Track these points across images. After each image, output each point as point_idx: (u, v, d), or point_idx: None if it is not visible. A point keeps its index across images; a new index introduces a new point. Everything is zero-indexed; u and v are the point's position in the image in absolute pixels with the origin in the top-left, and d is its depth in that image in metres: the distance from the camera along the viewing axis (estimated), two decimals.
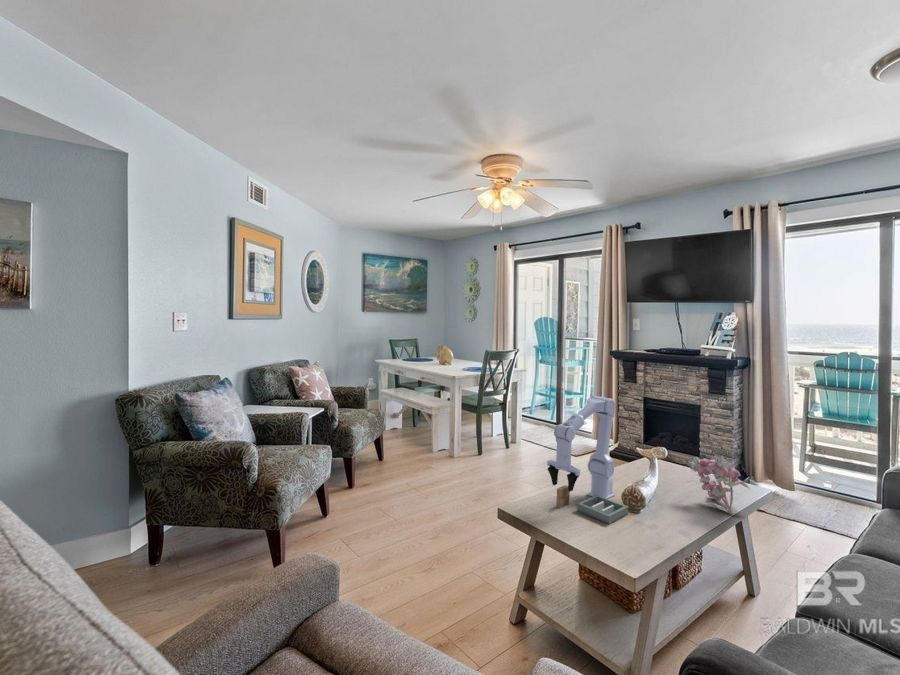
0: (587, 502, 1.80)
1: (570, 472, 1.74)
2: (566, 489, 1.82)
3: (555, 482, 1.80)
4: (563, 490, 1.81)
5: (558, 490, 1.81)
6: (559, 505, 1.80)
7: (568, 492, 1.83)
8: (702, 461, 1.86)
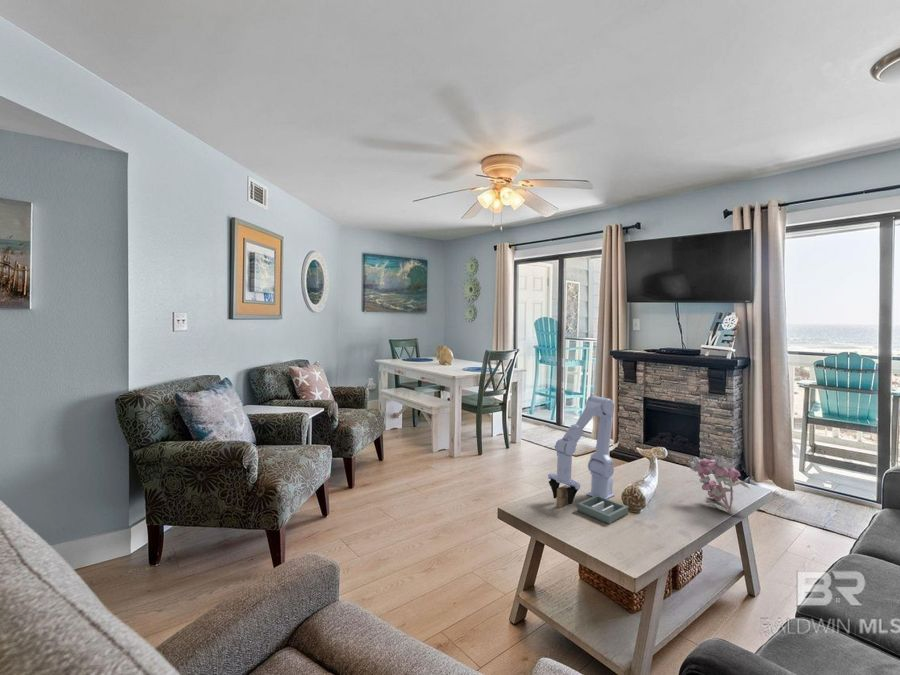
0: (587, 502, 1.80)
1: (570, 486, 1.79)
2: (566, 489, 1.82)
3: (556, 495, 1.85)
4: (563, 490, 1.81)
5: (558, 490, 1.81)
6: (559, 505, 1.80)
7: None
8: (702, 461, 1.86)
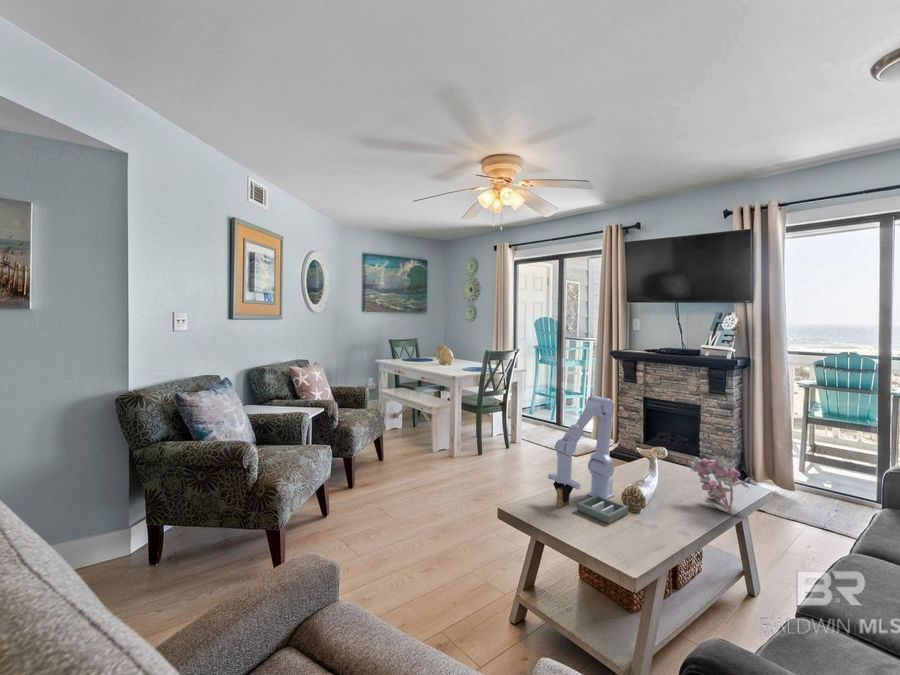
0: (587, 502, 1.80)
1: (565, 484, 1.81)
2: None
3: None
4: None
5: (558, 490, 1.81)
6: (559, 505, 1.80)
7: None
8: (702, 461, 1.86)
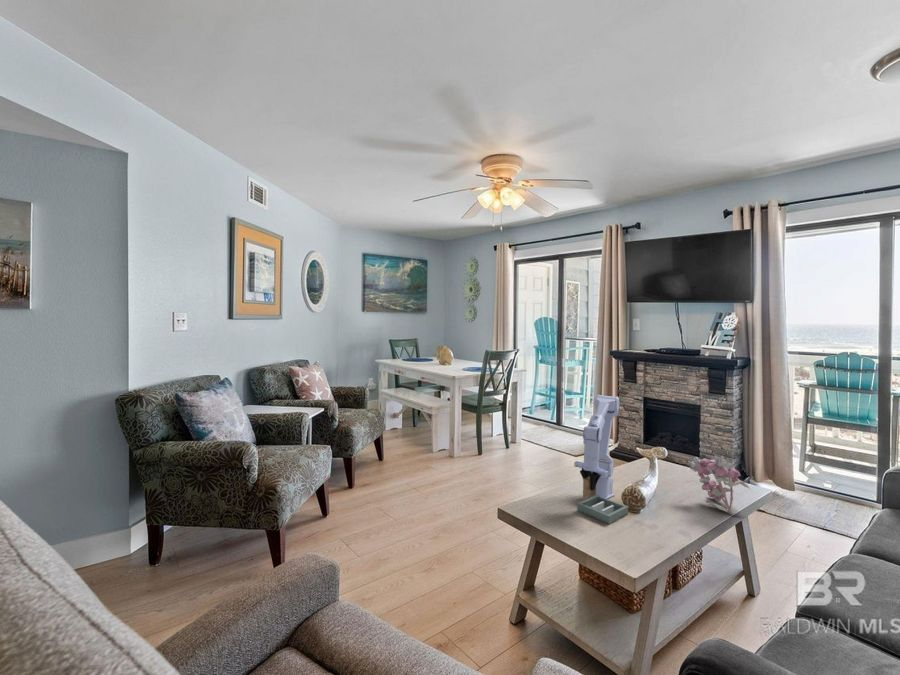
0: (587, 502, 1.80)
1: (592, 471, 1.76)
2: None
3: None
4: (589, 481, 1.76)
5: (584, 480, 1.76)
6: (586, 496, 1.76)
7: None
8: (702, 461, 1.86)
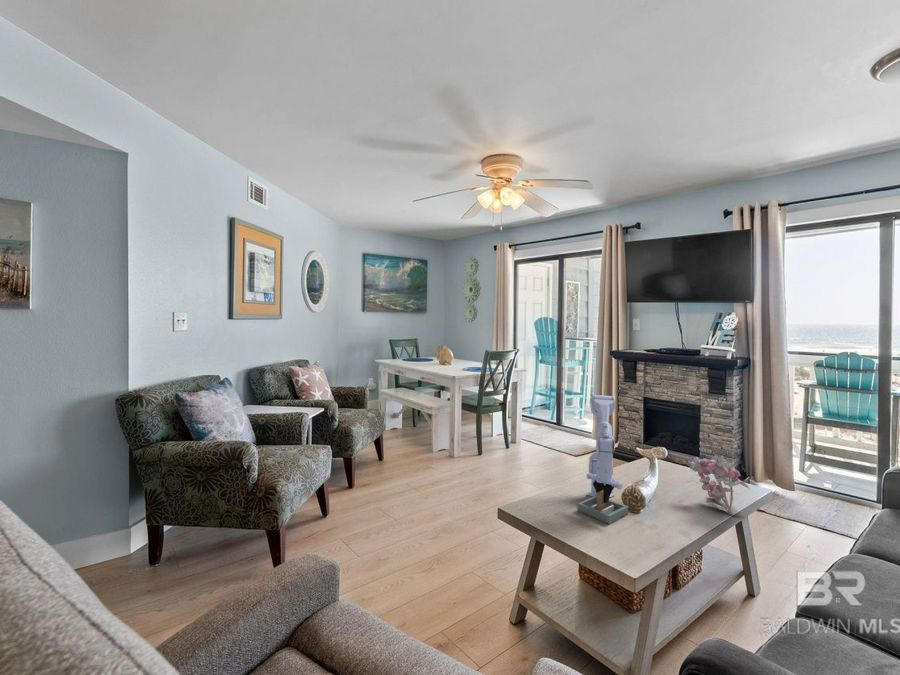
0: (587, 502, 1.80)
1: (606, 484, 1.74)
2: None
3: None
4: (603, 494, 1.74)
5: (598, 494, 1.74)
6: (599, 510, 1.74)
7: None
8: (702, 461, 1.86)
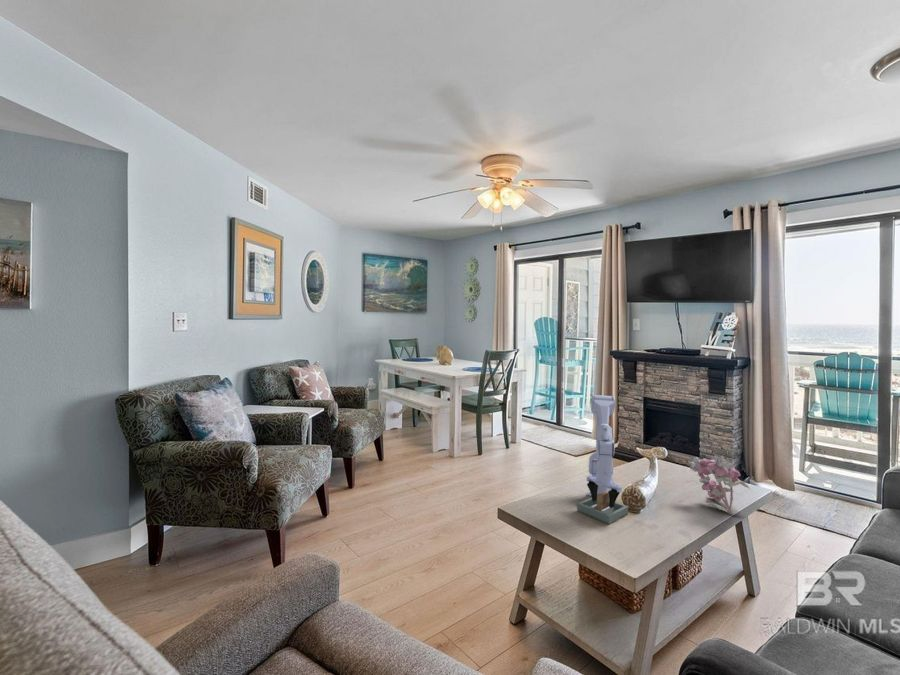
0: (587, 502, 1.80)
1: (611, 488, 1.72)
2: (606, 495, 1.76)
3: (595, 498, 1.79)
4: (603, 496, 1.74)
5: (598, 496, 1.74)
6: None
7: (608, 498, 1.77)
8: (702, 461, 1.86)
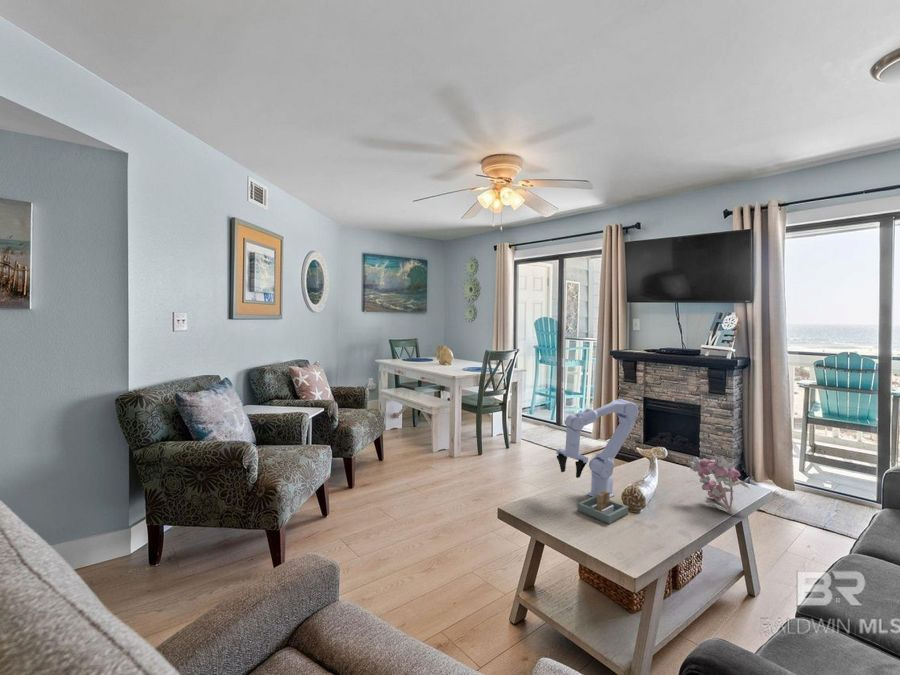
0: (587, 502, 1.80)
1: (578, 460, 1.85)
2: (606, 495, 1.76)
3: (563, 469, 1.92)
4: (603, 496, 1.74)
5: (598, 496, 1.74)
6: None
7: (608, 498, 1.77)
8: (702, 461, 1.86)
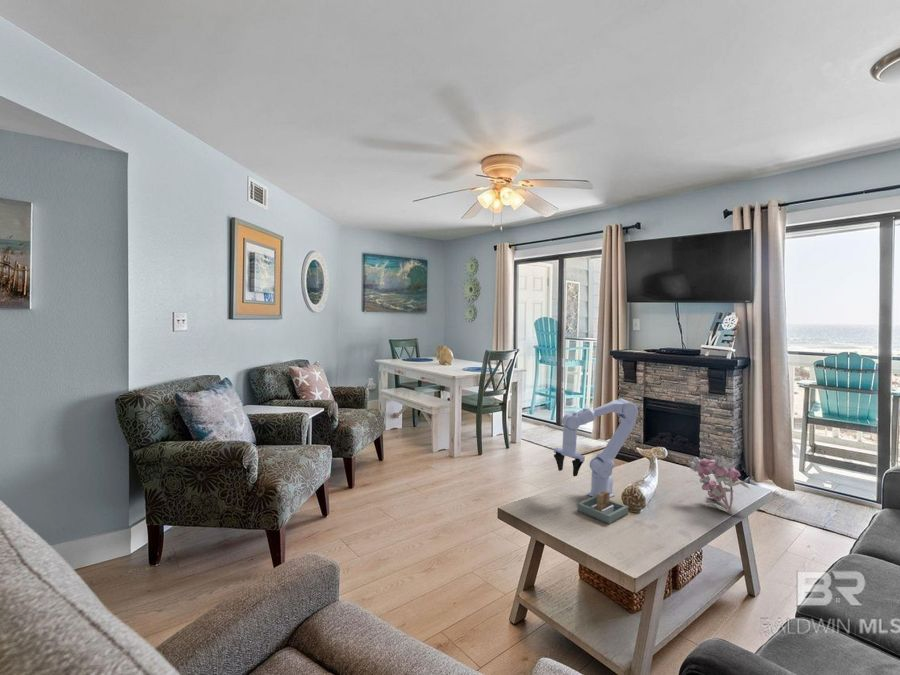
0: (587, 502, 1.80)
1: (575, 458, 1.87)
2: (606, 495, 1.76)
3: (561, 468, 1.94)
4: (603, 496, 1.74)
5: (598, 496, 1.74)
6: None
7: (608, 498, 1.77)
8: (702, 461, 1.86)
